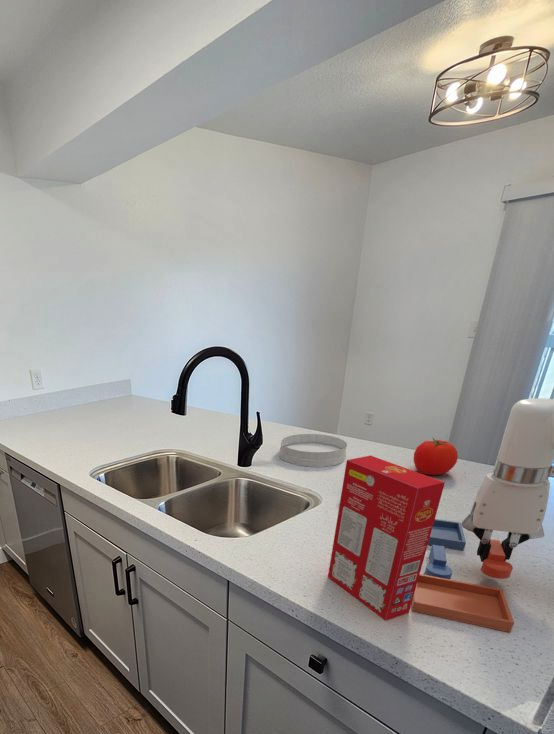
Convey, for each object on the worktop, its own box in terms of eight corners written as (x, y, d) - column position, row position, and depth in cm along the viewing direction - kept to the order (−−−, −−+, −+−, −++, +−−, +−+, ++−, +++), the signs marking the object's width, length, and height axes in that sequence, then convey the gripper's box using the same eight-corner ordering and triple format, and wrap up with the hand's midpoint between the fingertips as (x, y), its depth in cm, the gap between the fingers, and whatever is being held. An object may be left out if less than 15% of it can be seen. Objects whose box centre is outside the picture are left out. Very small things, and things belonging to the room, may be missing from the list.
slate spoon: (446, 559, 92) (450, 547, 90) (451, 584, 84) (455, 571, 83) (422, 555, 94) (426, 543, 92) (424, 579, 86) (428, 567, 84)
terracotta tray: (499, 598, 80) (503, 589, 79) (510, 632, 72) (514, 623, 71) (411, 580, 86) (413, 572, 85) (411, 610, 78) (414, 601, 77)
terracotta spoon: (502, 554, 87) (506, 541, 85) (512, 580, 79) (517, 567, 77) (475, 550, 88) (479, 537, 87) (482, 576, 81) (486, 562, 79)
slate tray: (458, 530, 102) (461, 522, 101) (463, 550, 94) (466, 542, 94) (391, 520, 108) (392, 513, 108) (390, 538, 101) (391, 531, 100)
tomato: (422, 463, 142) (430, 432, 137) (460, 473, 133) (470, 440, 128) (401, 472, 136) (408, 440, 132) (438, 482, 127) (447, 448, 123)
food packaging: (408, 612, 77) (444, 482, 66) (385, 620, 76) (418, 488, 64) (348, 571, 90) (370, 455, 78) (327, 577, 88) (346, 459, 77)
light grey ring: (346, 449, 158) (348, 435, 156) (344, 469, 141) (346, 454, 138) (284, 444, 167) (285, 432, 165) (274, 463, 149) (275, 449, 147)
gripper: (572, 468, 76) (538, 558, 84) (463, 461, 83) (441, 544, 91) (587, 483, 70) (548, 578, 79) (468, 474, 77) (444, 562, 86)
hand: (491, 559), depth 85 cm, fingers closed on terracotta spoon, 2 cm apart
